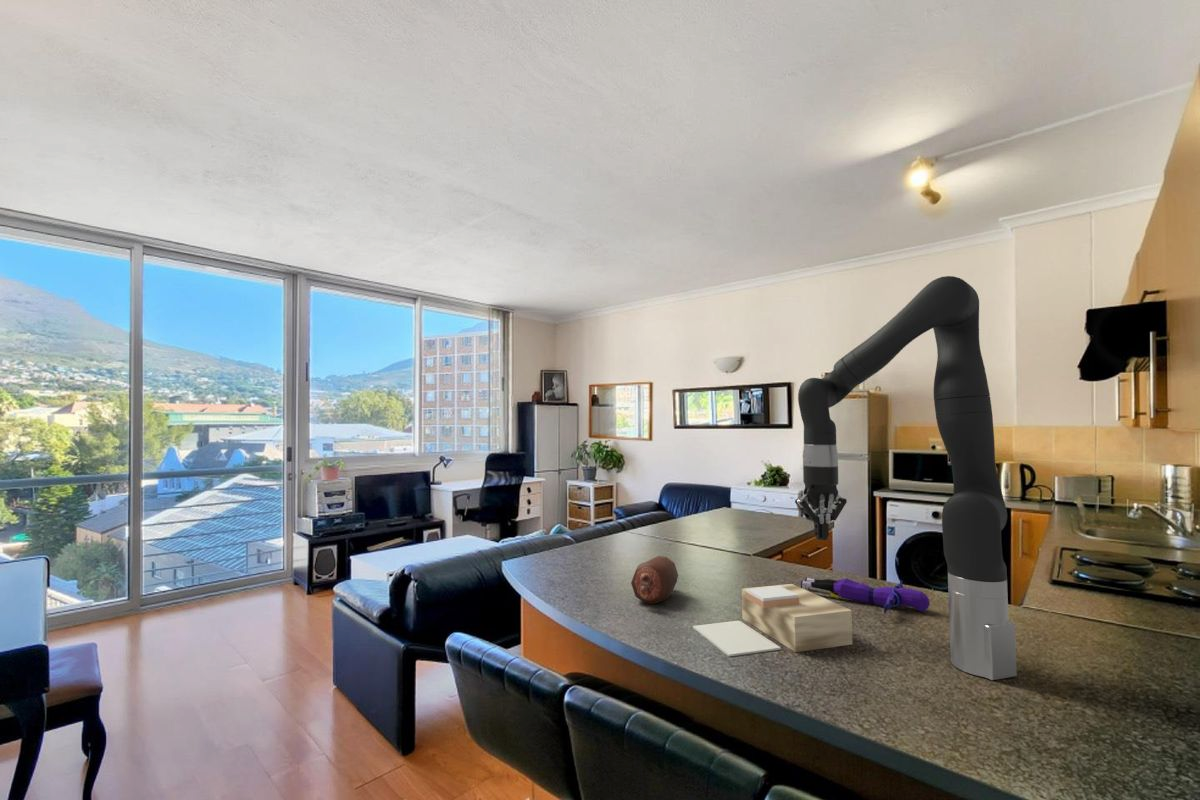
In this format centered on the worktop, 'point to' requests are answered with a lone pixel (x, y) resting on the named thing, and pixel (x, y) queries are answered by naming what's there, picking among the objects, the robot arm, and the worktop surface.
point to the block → (802, 621)
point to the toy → (871, 593)
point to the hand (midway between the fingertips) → (821, 539)
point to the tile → (772, 596)
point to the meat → (654, 580)
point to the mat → (735, 638)
